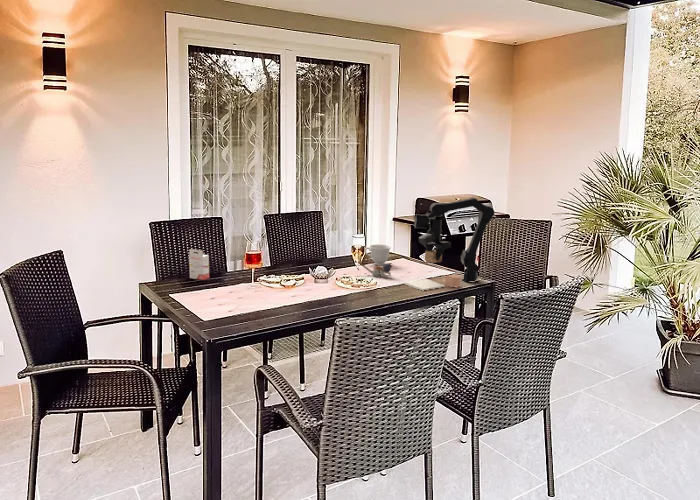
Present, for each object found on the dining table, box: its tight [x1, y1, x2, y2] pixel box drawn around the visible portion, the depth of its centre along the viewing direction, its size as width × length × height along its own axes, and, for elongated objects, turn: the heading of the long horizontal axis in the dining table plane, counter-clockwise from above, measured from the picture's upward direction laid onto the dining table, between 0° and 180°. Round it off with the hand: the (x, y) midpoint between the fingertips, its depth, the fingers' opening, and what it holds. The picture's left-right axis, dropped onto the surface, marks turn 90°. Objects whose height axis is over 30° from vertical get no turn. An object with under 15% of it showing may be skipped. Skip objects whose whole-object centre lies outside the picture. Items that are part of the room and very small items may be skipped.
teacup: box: [364, 244, 392, 266], centre depth 328 cm, size 12×15×10 cm
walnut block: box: [424, 249, 443, 264], centre depth 295 cm, size 6×6×5 cm
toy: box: [357, 261, 393, 279], centre depth 303 cm, size 9×18×10 cm, turn 76°
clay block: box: [444, 274, 462, 287], centre depth 287 cm, size 5×5×5 cm
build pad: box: [404, 278, 446, 292], centre depth 287 cm, size 14×14×1 cm
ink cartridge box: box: [188, 248, 210, 281], centre depth 287 cm, size 9×5×15 cm, turn 68°
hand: (433, 259), depth 295 cm, fingers closed on walnut block, 6 cm apart
